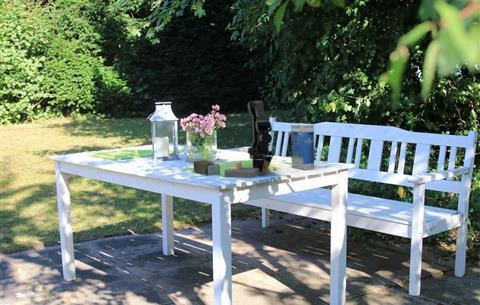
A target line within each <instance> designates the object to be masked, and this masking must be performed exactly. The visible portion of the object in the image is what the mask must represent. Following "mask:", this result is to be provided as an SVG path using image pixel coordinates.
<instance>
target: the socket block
mask: <svg viewBox="0 0 480 305" xmlns="http://www.w3.org/2000/svg"><path fill="white" fill-rule="evenodd" d="M223 174H224V178H225V177H226V178H243V179H247V178H248V179H254V178H255V177H256V178H257V177H258V176H260V175H261V174H260V170H259V168H252V167H242V169H241V170H228V169H225V170H224V173H223Z"/></svg>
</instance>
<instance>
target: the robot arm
mask: <svg viewBox="0 0 480 305" xmlns="http://www.w3.org/2000/svg"><path fill="white" fill-rule="evenodd" d="M247 110H248V113H249V114H250V116H251V118H252V136H253V138H252V139H253V142H252V144H251V146H250V147H248V149H247V154H249V159H250V160H252V167H251V168H259V170H260V172H262V170H263V167H264V163H265V161H268V168H270V165H271V162H272V160H273V157H274V156H275V151H273V150H270V148H269V146H271V144H270V143H271V142H272V140H273V137H272V135H271V134H270V133H272V131H273V127H272V123H271V121H270V119H269V117H267V116H266V115H265V110H264V101H263V100H254V101H249V102H248V103H247Z"/></svg>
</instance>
